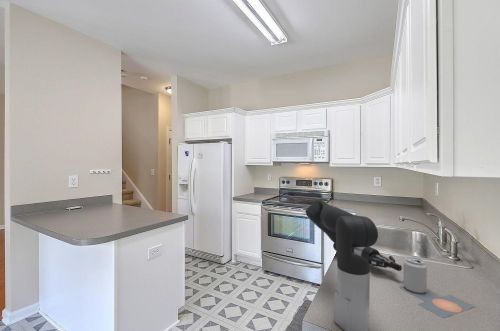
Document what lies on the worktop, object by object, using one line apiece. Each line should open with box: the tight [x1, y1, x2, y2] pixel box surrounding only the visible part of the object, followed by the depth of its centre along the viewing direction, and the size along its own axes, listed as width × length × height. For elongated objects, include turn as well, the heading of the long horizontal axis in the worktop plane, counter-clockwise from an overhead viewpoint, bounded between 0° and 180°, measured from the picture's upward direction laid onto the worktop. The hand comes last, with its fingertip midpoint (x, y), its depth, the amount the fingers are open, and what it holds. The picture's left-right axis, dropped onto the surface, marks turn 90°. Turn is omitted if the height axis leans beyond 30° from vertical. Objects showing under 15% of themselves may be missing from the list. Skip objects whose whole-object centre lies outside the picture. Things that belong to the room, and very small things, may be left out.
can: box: [402, 256, 428, 294], centre depth 92 cm, size 8×8×12 cm
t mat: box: [399, 286, 476, 319], centre depth 86 cm, size 18×18×1 cm
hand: (400, 268), depth 97 cm, fingers closed
